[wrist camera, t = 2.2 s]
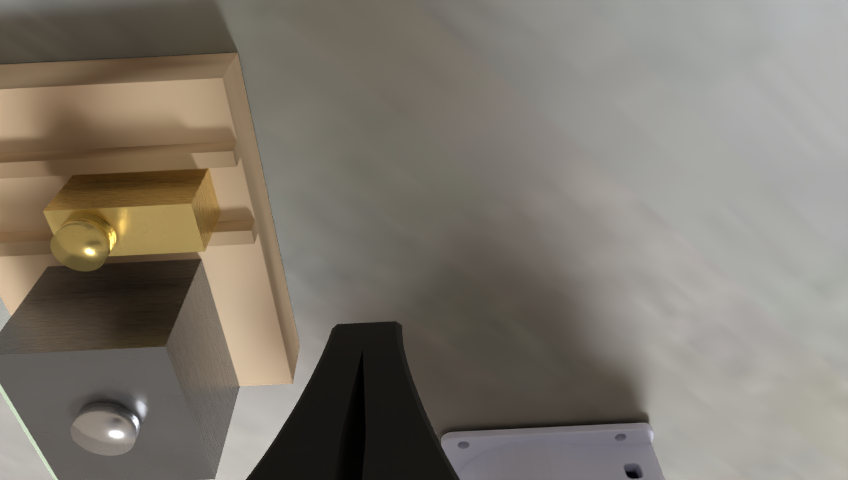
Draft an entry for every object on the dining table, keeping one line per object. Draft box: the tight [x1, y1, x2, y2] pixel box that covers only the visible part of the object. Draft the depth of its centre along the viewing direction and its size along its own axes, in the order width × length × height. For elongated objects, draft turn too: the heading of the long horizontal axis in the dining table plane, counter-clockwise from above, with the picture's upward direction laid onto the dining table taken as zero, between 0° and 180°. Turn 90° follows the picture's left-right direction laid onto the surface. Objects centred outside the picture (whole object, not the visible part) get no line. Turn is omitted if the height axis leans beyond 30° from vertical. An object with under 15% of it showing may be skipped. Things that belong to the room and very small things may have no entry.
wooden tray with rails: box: [0, 53, 299, 386], centre depth 22 cm, size 9×12×3 cm
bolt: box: [43, 168, 221, 271], centre depth 19 cm, size 4×2×3 cm, turn 92°
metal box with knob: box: [0, 259, 240, 480], centre depth 21 cm, size 5×6×4 cm
